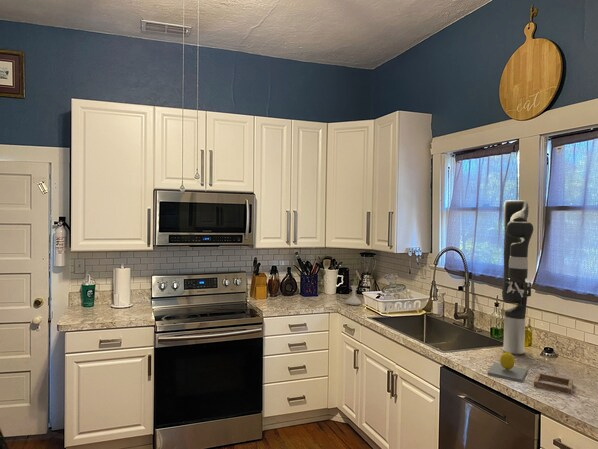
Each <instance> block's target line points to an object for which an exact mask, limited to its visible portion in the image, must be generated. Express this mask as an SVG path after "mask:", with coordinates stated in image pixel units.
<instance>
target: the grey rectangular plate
mask: <svg viewBox="0 0 598 449" xmlns="http://www.w3.org/2000/svg"><path fill="white" fill-rule="evenodd" d="M528 370H529V369H528V368H524V367H521V366H520V367H519V366H515V365H514V367H513V368H512V369H509V370H506V369H505V368H503V367H502V366H501V363H500V362H494V363H493V365H492V366H490V369H489V370H488V371H487V375H488V376H492V377H496V378H502V379H507V380H512V381H515V382H520V383H523V382H524V379H525V377H526V375H527V373H528Z"/></svg>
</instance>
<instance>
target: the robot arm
mask: <svg viewBox="0 0 598 449" xmlns="http://www.w3.org/2000/svg"><path fill="white" fill-rule="evenodd" d="M529 209H530V208H529V203H528V201H527V200H522V199H521V200H519V199H518V200H517V199H516V200H515V199H513V200H512V199H511V200H510V199H508V200H505V201H504V203H503V225H504V227H503V228H504V230H503V231H504V234H503V235H504V238H503V274H502V275H503V277H502V289H501V290H502V291H501V296H502V297H501V298H502V301H503V302H504V303H506V304H507V303H509V304H516V305H515V306H513V307H511V308H507V309H506V310H504V325H503V326H504V327H503V345H502V346H503V349H502V350H503V351H504V353H505V352H509V353H511V354H512V355H513V354H514V355H522V354H525V340H526V339H525V335H526V332H525V331H526V314H527V302H528V297H532V283H531V282H528V281H527V282H526V279H528V276H529V275H528V271H529V269H528V268H529V262H528V261H529V260H528V256H529V255H528V254H529V245H530V240H531V238H532V236H533V232H534V225H533V224H532V223H531V222H529V221H528V217H529ZM521 238H522V239H521Z"/></svg>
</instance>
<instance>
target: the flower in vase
mask: <svg viewBox="0 0 598 449" xmlns="http://www.w3.org/2000/svg"><path fill="white" fill-rule="evenodd" d="M355 273H356V276H355V279H354V281H353V282H352V284H353V285H350V287H351V290H352V291H351V292H352V293H351V296H350V297H349V298H347V299H346V300H345V303H346V304H347V305H349V306H359V305H361V304H362V301H361V299H360V298H358V297H357V296H356V290H357V288H358V285H355V284H357V281H356V279H358V280H359V281H361V280H362V278H361V275H360V274H359V272H358V270H355ZM357 277H358V278H357Z"/></svg>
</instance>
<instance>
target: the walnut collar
mask: <svg viewBox="0 0 598 449" xmlns="http://www.w3.org/2000/svg"><path fill="white" fill-rule="evenodd" d="M540 380H543V381H540ZM544 381H549V382H553V383H559V384H564V385H567V386H562V385H558V384H553V383H549V382H544ZM573 382H574V379H571V378H567V377H563V376H562V377H561V376H556V375H551V374H546V373H541V372H537V373H536V376H535V377H534V381H533V387H534V388H535V387H536V388H539V389H544V390H548V389H549V391H553V392H557V391H558V392H559V393H562V392H563V393H564V394H567V395H572V392H573Z"/></svg>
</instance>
